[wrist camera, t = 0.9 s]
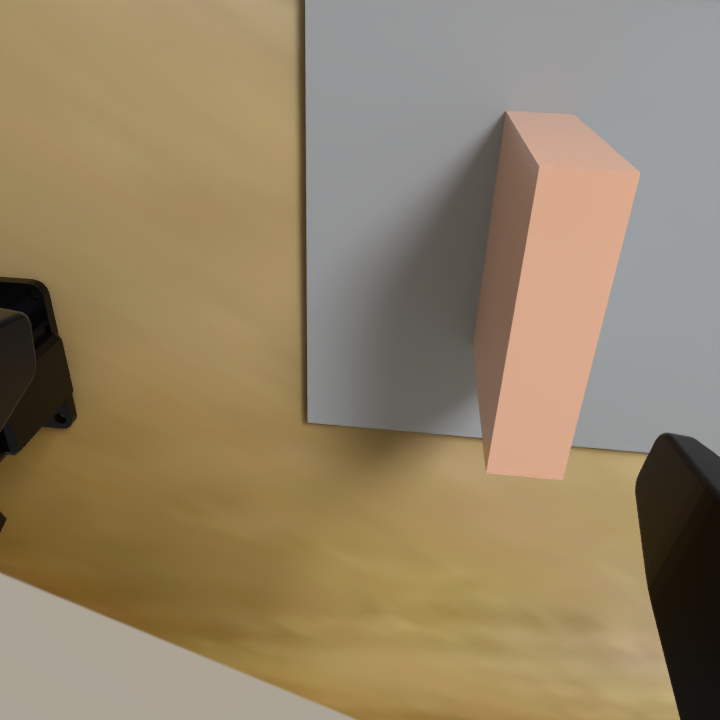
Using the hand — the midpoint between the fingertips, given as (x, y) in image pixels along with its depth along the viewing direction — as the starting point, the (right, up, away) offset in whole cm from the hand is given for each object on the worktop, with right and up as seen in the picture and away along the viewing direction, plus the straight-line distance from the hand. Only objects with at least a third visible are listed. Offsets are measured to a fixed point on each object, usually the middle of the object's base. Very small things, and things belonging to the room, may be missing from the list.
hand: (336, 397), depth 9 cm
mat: (+8, +4, +12) cm, 15 cm away
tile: (+5, +4, +12) cm, 14 cm away
